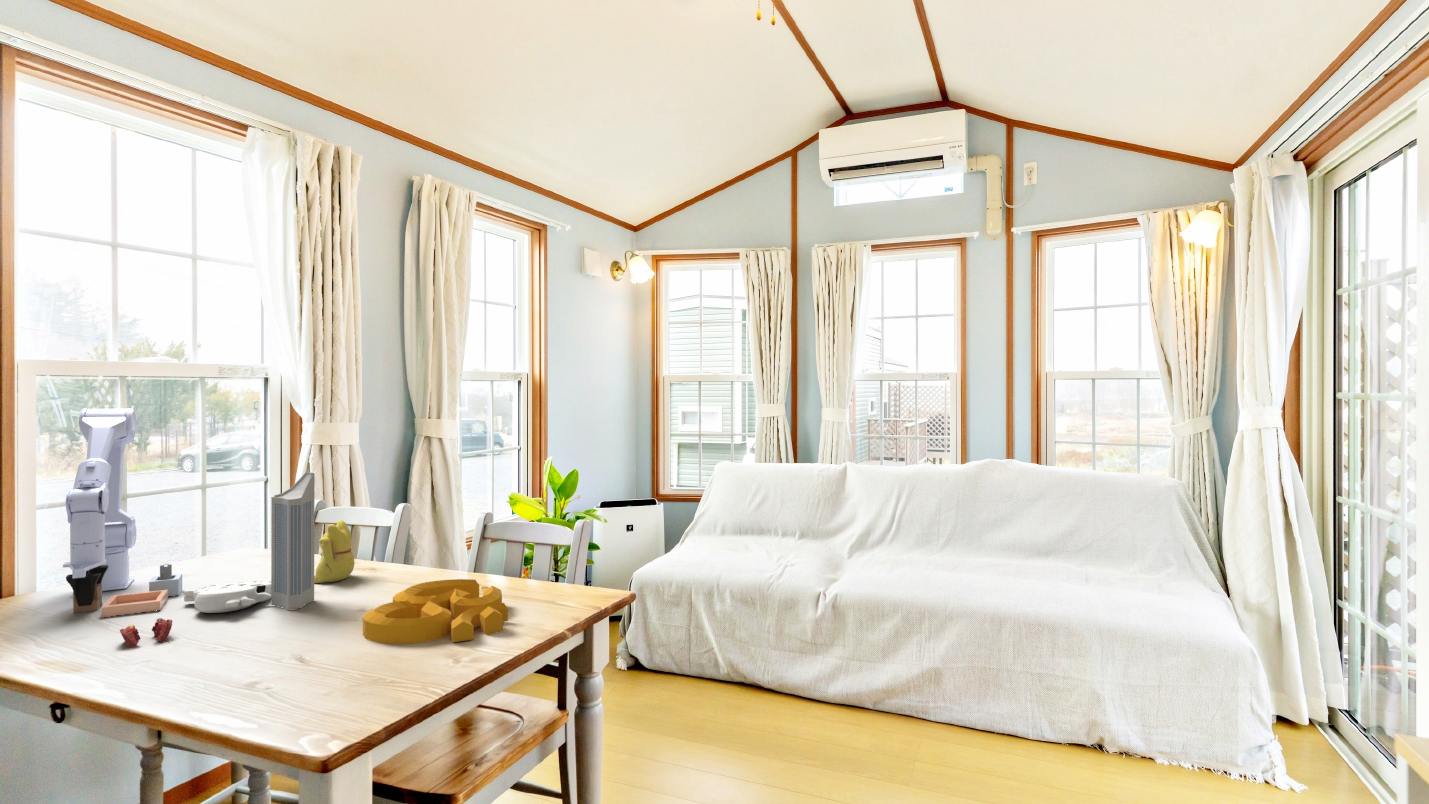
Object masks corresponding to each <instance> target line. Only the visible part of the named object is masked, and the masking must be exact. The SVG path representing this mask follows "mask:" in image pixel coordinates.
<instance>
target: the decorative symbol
mask: <svg viewBox="0 0 1429 804" xmlns="http://www.w3.org/2000/svg"><path fill="white" fill-rule="evenodd" d="M482 591H483V592H482V594H483V595H482V596H480V584H479V583H478V581H477V580H476V579H468V578H467V579H465V578H464V579H463V578H462V579H461V578H460V579H459V578H458V579H441V580H432V581H426V582H422V583H421V582H420V583H417V584H414V585H411V586H409V587H407V588H405V589H403V590H402V591H400V592H398V593H396V594H394V595H393V596H392V602H387V603H383V604H381V605H379V606H378V607H375V608H373V609H371V610H369V611H367V612H366V613H364V614H363V616H362V636H363V637H364V639H365V640H368V641H371V642H376V643H378V644H379V643H380V644H388V645H389V644H393V645H401V644H402V645H405V644H406V645H411V644H420V643H427V642H431V641H437V640H441V639H443V638H445V637H447V636H448V635H451V636H450V638H451V643H457V642H464V641H470V640H474V639H475V638H474V635H475V634H474V631H475V629H476V628H477V627H479V631H481V633H483V635H485V634H487V635H490V634H496V632H498V633H502V632H501V631H503V629H504V625H503V623H504V622H507V621H509V608H508V606H507V605H506V604H505V602H503V594H502V590H501V589H500V588H498V587H496V586H495V585H491V586H489V587H488V588H486V589H485V590H482ZM503 632H504V631H503Z"/></svg>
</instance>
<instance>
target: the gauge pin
mask: <svg viewBox="0 0 1429 804" xmlns="http://www.w3.org/2000/svg"><path fill="white" fill-rule="evenodd" d="M172 566H173V565H172V564H169V563H168V564H161V565H159V576H160V580H165V579H172V575H173V573H172V572H173V570H172V568H173V567H172Z"/></svg>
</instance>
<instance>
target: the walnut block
mask: <svg viewBox="0 0 1429 804" xmlns="http://www.w3.org/2000/svg"><path fill="white" fill-rule="evenodd" d="M72 591H73V590H72ZM72 593H73V594H72V599H73V601H72V603H73V604H72V607H73V609H72V610H73V614H76V613H84V612H85V613H86V612H93V611H99V609H101V607H102V606H103V591H102V583H100V584H96V587H95V592H94V598H93V602H92V604H91V605H89V606H80V607H79V606H78V604H77V601H76V597H75V594H74V591H73V592H72Z"/></svg>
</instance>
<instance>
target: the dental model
mask: <svg viewBox="0 0 1429 804" xmlns="http://www.w3.org/2000/svg"><path fill="white" fill-rule="evenodd" d="M172 626H173V619H164V618H160V617H159V618H157V619H156V622H155V623H154V625H153V626H152V628H151V632H153V637H154V638H155V640H156V641H158V642H164V641H165V642H167V640H168V637H169V635H170V632H171V630H172ZM119 632H120V634H121V636H122V639H123V640H124V642H125V644H126V646H127V647H128V649H131V648H134V647H136V646H138V643H139V641H140V640H141V636H140V634H139V630H138V628H136V627H135V625H134V623H133V624H129V625H128V626H127V627H125V628H121V629H119Z"/></svg>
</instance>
